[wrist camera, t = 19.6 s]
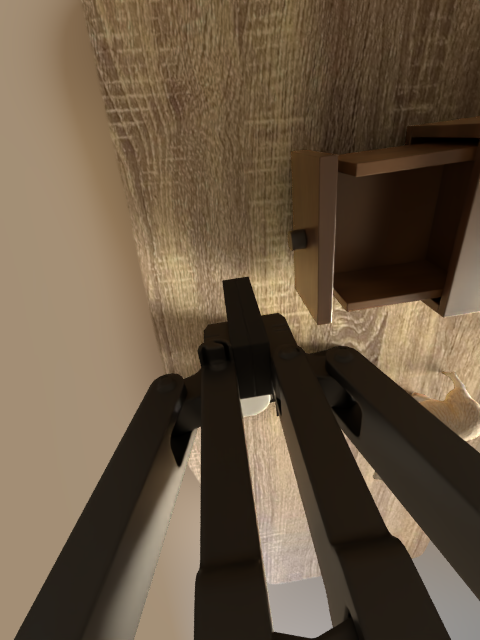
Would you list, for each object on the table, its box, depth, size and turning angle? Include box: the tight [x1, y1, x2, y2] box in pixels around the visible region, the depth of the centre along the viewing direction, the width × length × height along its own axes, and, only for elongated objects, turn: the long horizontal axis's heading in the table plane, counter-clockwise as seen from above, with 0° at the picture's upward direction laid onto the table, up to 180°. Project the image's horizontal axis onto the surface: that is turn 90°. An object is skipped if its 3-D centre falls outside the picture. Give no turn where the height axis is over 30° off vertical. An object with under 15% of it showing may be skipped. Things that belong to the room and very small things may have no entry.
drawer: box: [288, 139, 480, 325], centre depth 26 cm, size 15×12×7 cm
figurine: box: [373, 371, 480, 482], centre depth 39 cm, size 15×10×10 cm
